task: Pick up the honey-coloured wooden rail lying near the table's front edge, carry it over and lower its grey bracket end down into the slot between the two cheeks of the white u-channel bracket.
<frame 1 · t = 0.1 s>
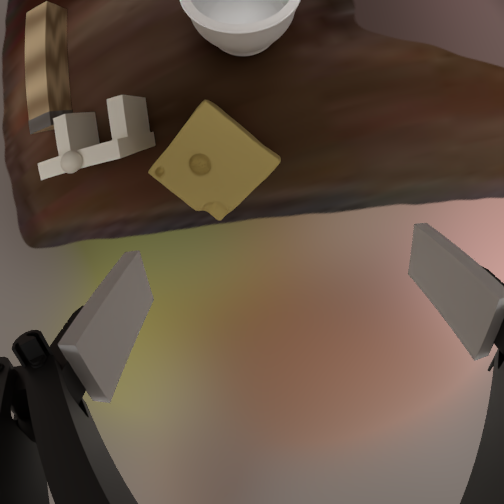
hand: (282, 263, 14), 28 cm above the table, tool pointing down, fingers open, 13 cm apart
cheese: (219, 153, 38), on the table
white cup: (244, 29, 31), on the table
rail: (57, 66, 31), on the table
white u-channel bracket: (117, 136, 37), on the table
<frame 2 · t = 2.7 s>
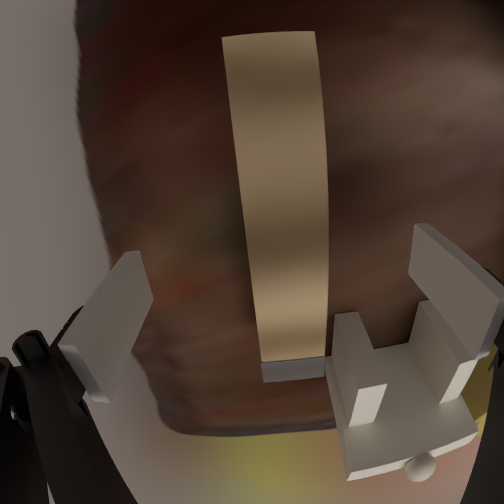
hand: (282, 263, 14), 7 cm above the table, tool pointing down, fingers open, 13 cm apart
cheese: (473, 349, 27), on the table
rail: (279, 206, 20), on the table
white u-channel bracket: (382, 344, 26), on the table
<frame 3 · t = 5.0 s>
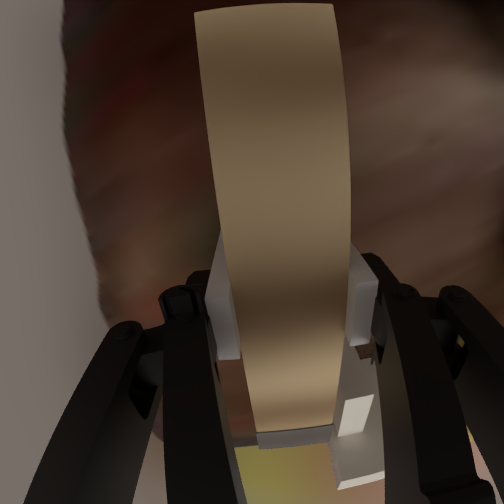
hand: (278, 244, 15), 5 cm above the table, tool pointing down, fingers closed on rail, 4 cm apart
rail: (278, 243, 16), point 5 cm above the table, touching gripper
white u-channel bracket: (369, 354, 26), on the table
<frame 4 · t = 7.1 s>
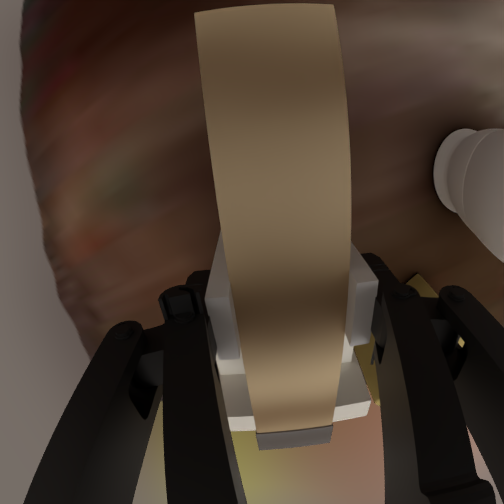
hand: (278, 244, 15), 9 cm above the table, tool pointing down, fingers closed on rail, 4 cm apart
cheese: (403, 322, 30), on the table
white cup: (463, 170, 22), on the table
rail: (278, 244, 16), point 9 cm above the table, touching gripper
white u-channel bracket: (278, 304, 28), on the table
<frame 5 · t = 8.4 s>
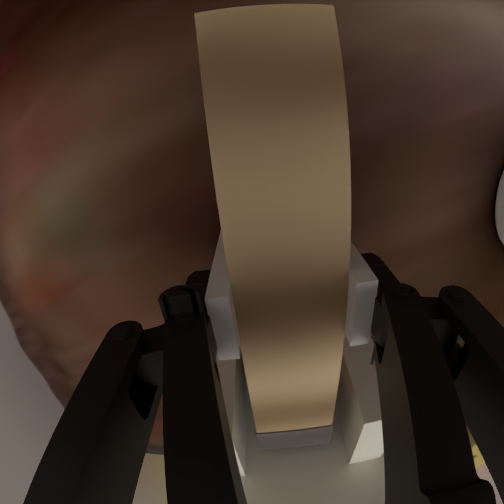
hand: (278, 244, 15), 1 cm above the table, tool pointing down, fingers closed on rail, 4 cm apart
rail: (278, 244, 16), on the table, touching gripper
white u-channel bracket: (287, 371, 21), on the table
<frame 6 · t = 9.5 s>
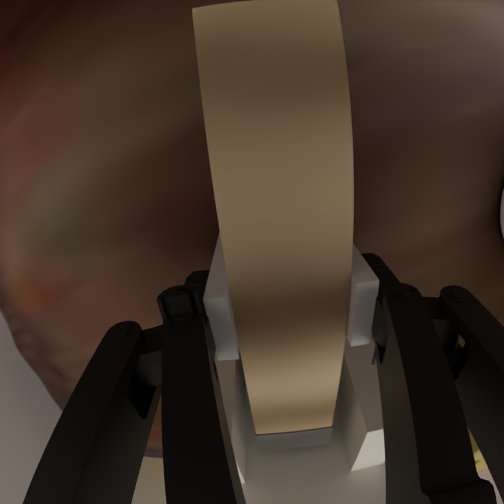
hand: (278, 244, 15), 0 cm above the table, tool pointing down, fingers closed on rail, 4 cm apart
cheese: (436, 380, 22), on the table
rail: (278, 244, 16), on the table, touching gripper
white u-channel bracket: (287, 376, 20), on the table
when the fingers open (0 cm above the table, at t = 9.6 s): rail stays where it is, on the table.
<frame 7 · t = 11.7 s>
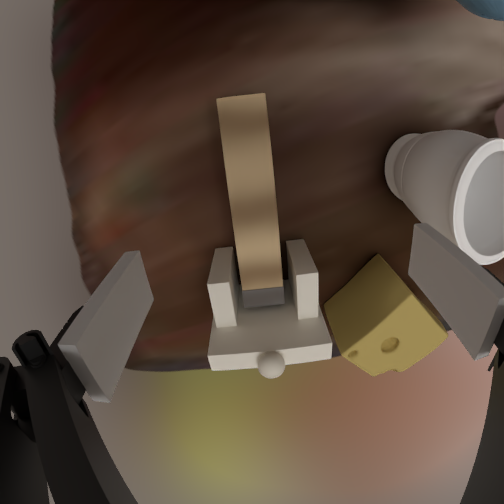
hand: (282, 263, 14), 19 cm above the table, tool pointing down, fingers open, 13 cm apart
cheese: (370, 297, 38), on the table
white cup: (413, 167, 31), on the table
rail: (252, 194, 32), on the table
white u-channel bracket: (263, 278, 36), on the table
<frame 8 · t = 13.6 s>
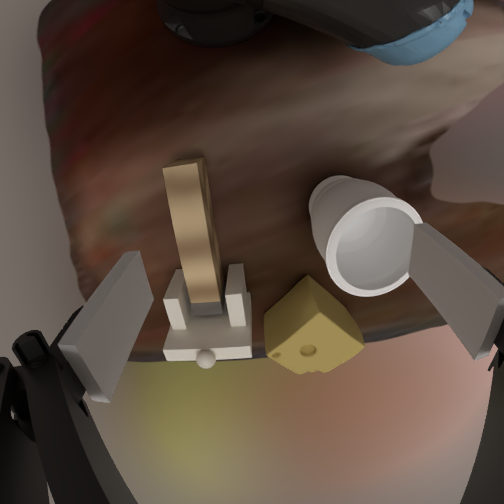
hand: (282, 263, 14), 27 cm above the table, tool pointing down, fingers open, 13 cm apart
cheese: (305, 308, 48), on the table
white cup: (338, 203, 40), on the table
rail: (201, 229, 41), on the table
white u-channel bracket: (213, 292, 46), on the table
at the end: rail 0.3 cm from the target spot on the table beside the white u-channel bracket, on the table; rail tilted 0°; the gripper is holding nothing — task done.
